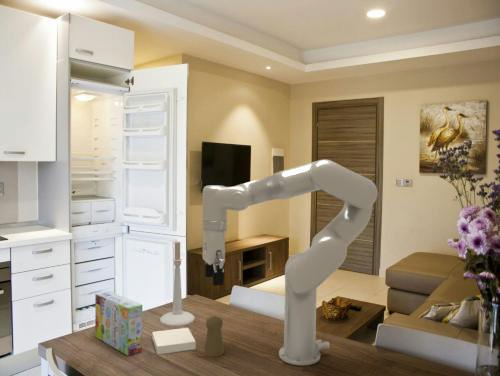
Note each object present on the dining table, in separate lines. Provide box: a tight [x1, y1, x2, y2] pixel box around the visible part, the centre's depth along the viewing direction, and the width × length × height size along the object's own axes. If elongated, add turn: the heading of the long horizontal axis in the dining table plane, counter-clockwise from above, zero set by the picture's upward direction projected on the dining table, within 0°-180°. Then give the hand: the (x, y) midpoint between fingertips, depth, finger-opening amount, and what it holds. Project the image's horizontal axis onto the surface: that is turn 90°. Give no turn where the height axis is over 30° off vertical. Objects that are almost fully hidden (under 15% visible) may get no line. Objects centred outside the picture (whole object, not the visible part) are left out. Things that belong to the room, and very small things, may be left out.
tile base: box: [151, 327, 197, 355], centre depth 137 cm, size 12×12×2 cm
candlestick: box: [159, 240, 196, 327], centre depth 158 cm, size 13×13×30 cm
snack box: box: [94, 290, 143, 357], centre depth 137 cm, size 21×6×15 cm, turn 47°
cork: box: [203, 315, 225, 358], centre depth 131 cm, size 6×6×11 cm
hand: (214, 280), depth 130 cm, fingers open, 9 cm apart
